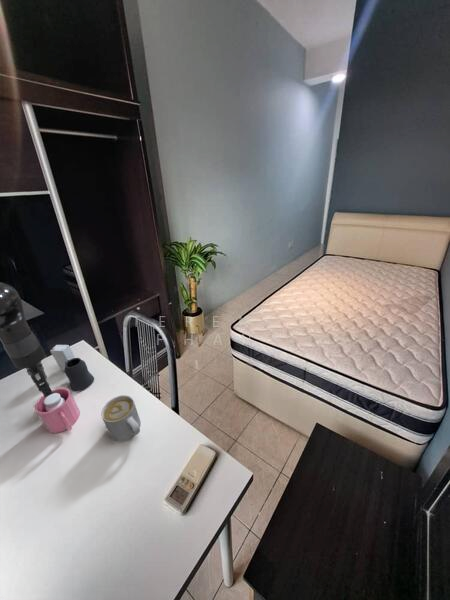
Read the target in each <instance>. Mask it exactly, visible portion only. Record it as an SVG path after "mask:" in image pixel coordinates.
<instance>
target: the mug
mask: <svg viewBox="0 0 450 600" xmlns="http://www.w3.org/2000/svg"><path fill="white" fill-rule="evenodd" d="M63 372H64V373H65V375H66V377H67V379H68V381H69V390H70V391H72V392H75V393H76V392H82V391H84V390H86V389H88V388H90V387H91V386H92V384H93V383H94V382H95V377H94V375H93V374H92V373H91V372H90V371H89V369H88V365H87V364H86V361H85V360H82V359H81V358H80V357H75V358H73V359H71V360H68V361H66V362H65V369H64V371H63Z"/></svg>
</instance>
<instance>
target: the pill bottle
mask: <svg viewBox="0 0 450 600" xmlns="http://www.w3.org/2000/svg"><path fill="white" fill-rule="evenodd" d="M64 402H65V399H64V398H62V397H61V396H60V394H58V393H54V394H51V395H49V396H48V397H47V398H46V399H45V400H44V404H45V406H46V411H47V412H49V411H52V410H54V409H56V408H58V407H59V406H61V405H62V404H63V403H64Z"/></svg>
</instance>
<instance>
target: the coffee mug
mask: <svg viewBox="0 0 450 600" xmlns="http://www.w3.org/2000/svg"><path fill="white" fill-rule="evenodd" d="M136 406H137V405H136V404H135V400H134V399H133V398H132V397H131V396H129V395H126V394H125V395H122V394H121V395H118V396H115V397H113V398H111V399H109V400H108V401H107V402H106V403H105V404H104V406H103V407H102V409H101V419H102V421H103V423H104V425H105V429H106V430H107V432H108V435H109V437H110V438H111V440H113V441H114V442H117V443H123V442H126V441H130V440H131V439H132V438H134V436H138V434H140V432H141V423H142V422H141V419H140V415H139V413H138V408H137V407H136Z"/></svg>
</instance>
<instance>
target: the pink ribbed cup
mask: <svg viewBox="0 0 450 600" xmlns="http://www.w3.org/2000/svg"><path fill="white" fill-rule="evenodd" d="M51 390H52V392H53V393H52V394H54V393H58V394H60V396H61V397H62V398H64V399H65V402H64V403H63V404H62V405H61V406H59V407H58V408H56V409H54V410H52V411H49V412H47V411H46V406H45V404H44V400H45V399H46V398H47V397H48V396H47V397H44V395H42V396H41V397H40V398H39V399H38V400H37V401H36V403H35V405H34V411H35V412H36V414H37V416H38V417H39V419H40V421H41V422H42V423H43V426H44V427H45V429H46V430H47V431H48V432H49V433H51V434H58V433H62V432H65V431H66V430H68V431H71V430H73V426H74V425H75V423H77V421H78V420H79V418H80V416H81V411H80V407H79V406H78V404H77V402H76V400H75V398H74V397H73V394H72V392H71V389H70V388H66V387H59V388H55V389H51Z"/></svg>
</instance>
